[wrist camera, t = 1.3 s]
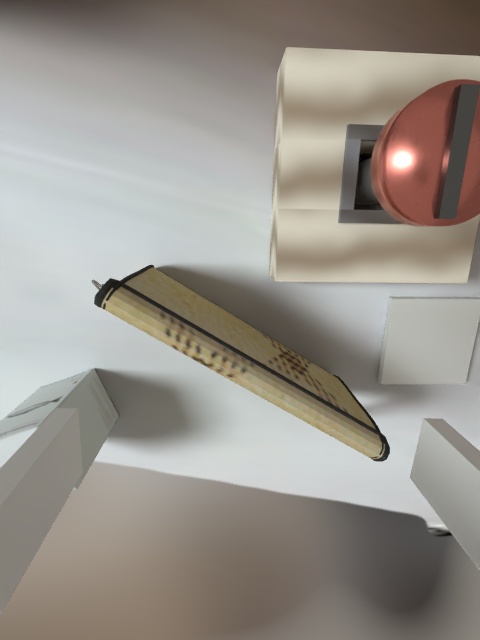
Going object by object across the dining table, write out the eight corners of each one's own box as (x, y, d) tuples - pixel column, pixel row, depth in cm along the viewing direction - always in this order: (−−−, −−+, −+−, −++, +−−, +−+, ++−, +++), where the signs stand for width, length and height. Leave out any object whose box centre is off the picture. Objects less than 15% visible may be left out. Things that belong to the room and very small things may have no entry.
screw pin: (327, 136, 35) (401, 71, 20) (410, 139, 35) (541, 77, 21) (320, 226, 37) (382, 225, 23) (398, 227, 38) (508, 227, 23)
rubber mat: (389, 296, 40) (393, 298, 39) (477, 297, 40) (483, 299, 39) (377, 381, 43) (380, 384, 42) (460, 380, 43) (465, 384, 42)
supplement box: (94, 365, 40) (39, 425, 28) (120, 416, 42) (79, 492, 30) (38, 385, 41) (-40, 452, 29) (66, 434, 43) (4, 517, 31)
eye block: (277, 73, 33) (287, 43, 28) (471, 81, 34) (517, 54, 29) (269, 274, 38) (276, 282, 33) (437, 276, 39) (471, 284, 34)
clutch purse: (112, 304, 39) (46, 350, 24) (141, 252, 37) (89, 268, 23) (317, 420, 44) (364, 514, 30) (349, 378, 43) (414, 456, 28)
